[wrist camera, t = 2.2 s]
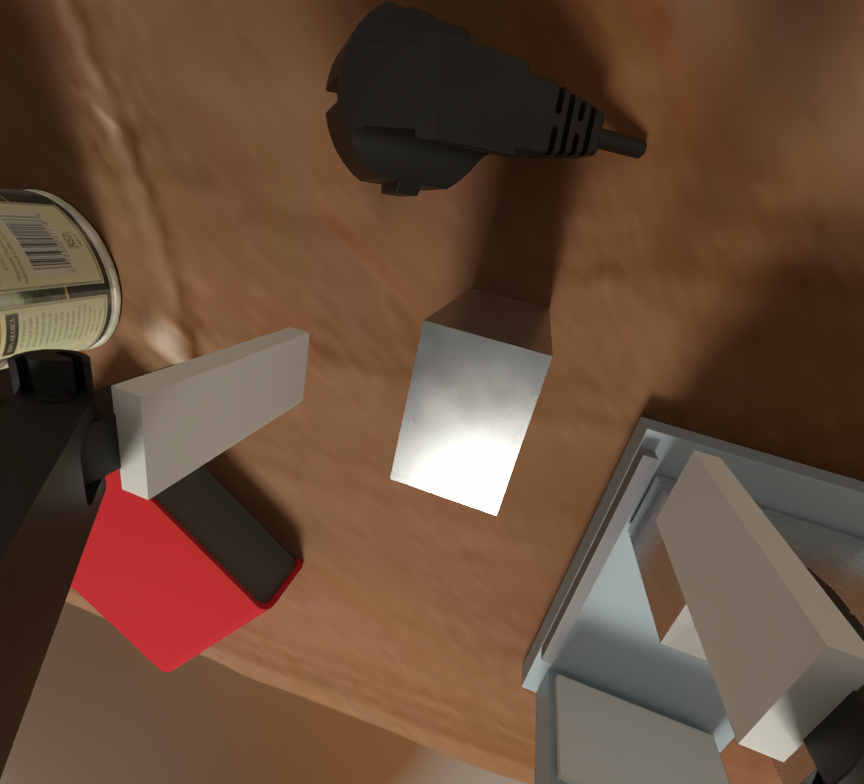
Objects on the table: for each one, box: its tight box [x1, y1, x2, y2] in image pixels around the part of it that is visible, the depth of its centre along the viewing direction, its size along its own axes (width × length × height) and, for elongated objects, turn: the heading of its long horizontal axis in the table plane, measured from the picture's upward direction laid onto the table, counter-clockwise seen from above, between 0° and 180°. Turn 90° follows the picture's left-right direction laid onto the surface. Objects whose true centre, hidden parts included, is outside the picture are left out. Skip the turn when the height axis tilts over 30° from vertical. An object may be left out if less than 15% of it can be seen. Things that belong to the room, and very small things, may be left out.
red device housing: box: [71, 465, 303, 672], centre depth 31 cm, size 18×14×5 cm
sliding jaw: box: [628, 475, 864, 784], centre depth 14 cm, size 10×4×12 cm, turn 77°
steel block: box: [390, 288, 553, 515], centre depth 17 cm, size 4×6×9 cm, turn 167°
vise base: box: [522, 417, 864, 784], centre depth 20 cm, size 12×20×8 cm, turn 167°
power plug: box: [326, 2, 647, 196], centre depth 17 cm, size 6×8×12 cm
